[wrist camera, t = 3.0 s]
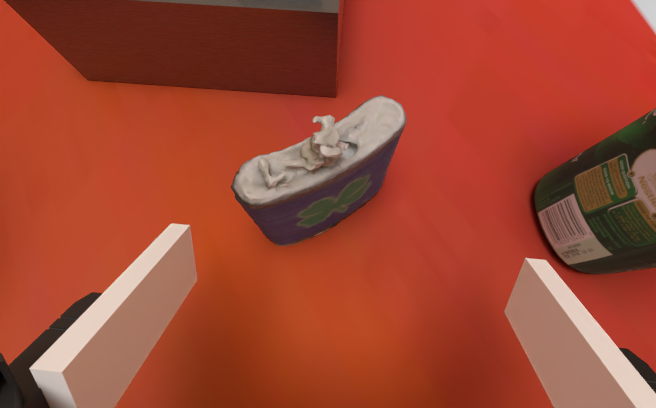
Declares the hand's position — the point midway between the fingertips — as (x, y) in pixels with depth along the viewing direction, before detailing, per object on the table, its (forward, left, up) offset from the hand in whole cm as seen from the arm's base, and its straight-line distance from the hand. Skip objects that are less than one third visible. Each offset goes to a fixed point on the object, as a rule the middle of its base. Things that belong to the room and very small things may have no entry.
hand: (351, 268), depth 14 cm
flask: (-2, +5, -10) cm, 11 cm away
